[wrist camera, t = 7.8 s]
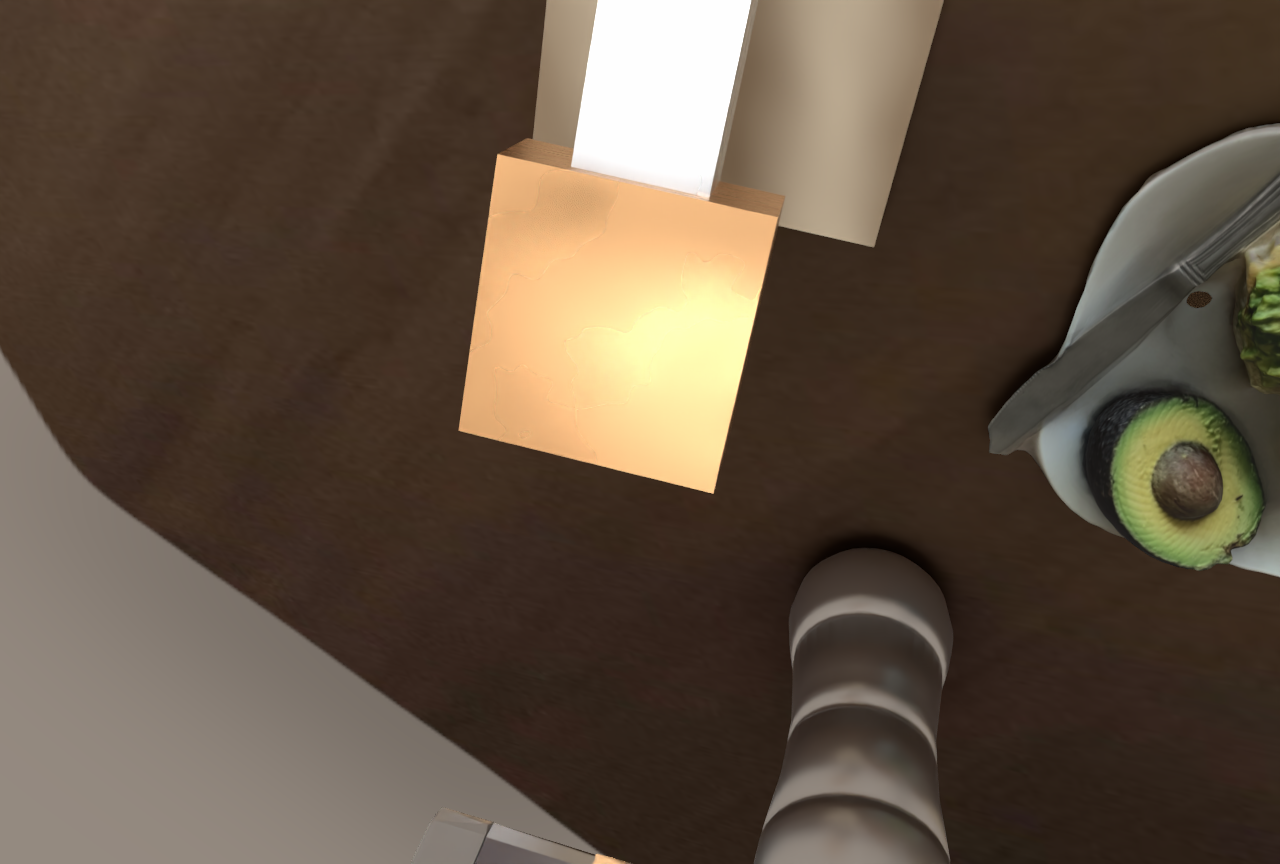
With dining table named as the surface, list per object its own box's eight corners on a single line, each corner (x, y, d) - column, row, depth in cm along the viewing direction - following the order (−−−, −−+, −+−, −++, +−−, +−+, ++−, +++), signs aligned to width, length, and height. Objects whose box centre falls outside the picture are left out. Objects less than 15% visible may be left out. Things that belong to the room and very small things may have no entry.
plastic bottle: (904, 504, 49) (882, 947, 32) (981, 623, 51) (997, 1091, 35) (766, 558, 52) (681, 989, 35) (845, 668, 54) (800, 1119, 38)
